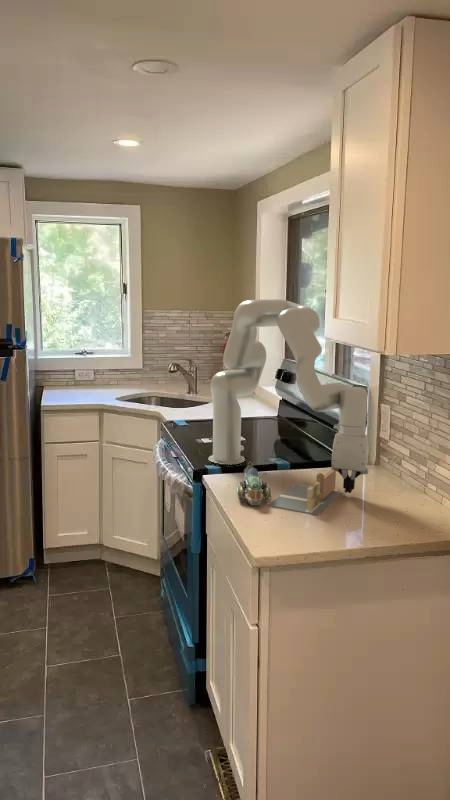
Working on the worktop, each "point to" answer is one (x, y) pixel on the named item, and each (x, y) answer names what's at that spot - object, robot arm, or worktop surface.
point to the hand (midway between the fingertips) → (348, 491)
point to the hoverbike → (253, 487)
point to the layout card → (301, 500)
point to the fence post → (315, 492)
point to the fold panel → (329, 482)
